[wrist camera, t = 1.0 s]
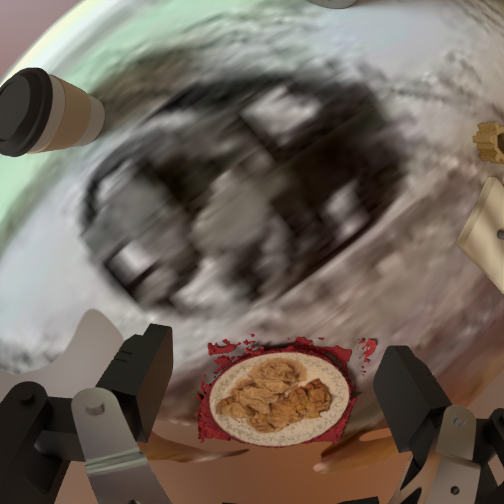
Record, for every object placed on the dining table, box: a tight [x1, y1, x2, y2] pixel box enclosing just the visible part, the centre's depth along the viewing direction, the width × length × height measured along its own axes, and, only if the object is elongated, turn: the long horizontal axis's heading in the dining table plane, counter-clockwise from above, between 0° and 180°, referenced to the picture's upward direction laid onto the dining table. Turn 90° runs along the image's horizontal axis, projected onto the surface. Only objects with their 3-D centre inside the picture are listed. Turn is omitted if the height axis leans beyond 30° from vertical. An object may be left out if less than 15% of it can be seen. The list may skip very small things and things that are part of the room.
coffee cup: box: [0, 68, 105, 157], centre depth 23 cm, size 9×9×15 cm
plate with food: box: [197, 334, 376, 448], centre depth 41 cm, size 24×26×4 cm
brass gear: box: [473, 122, 504, 164], centre depth 28 cm, size 6×6×4 cm
